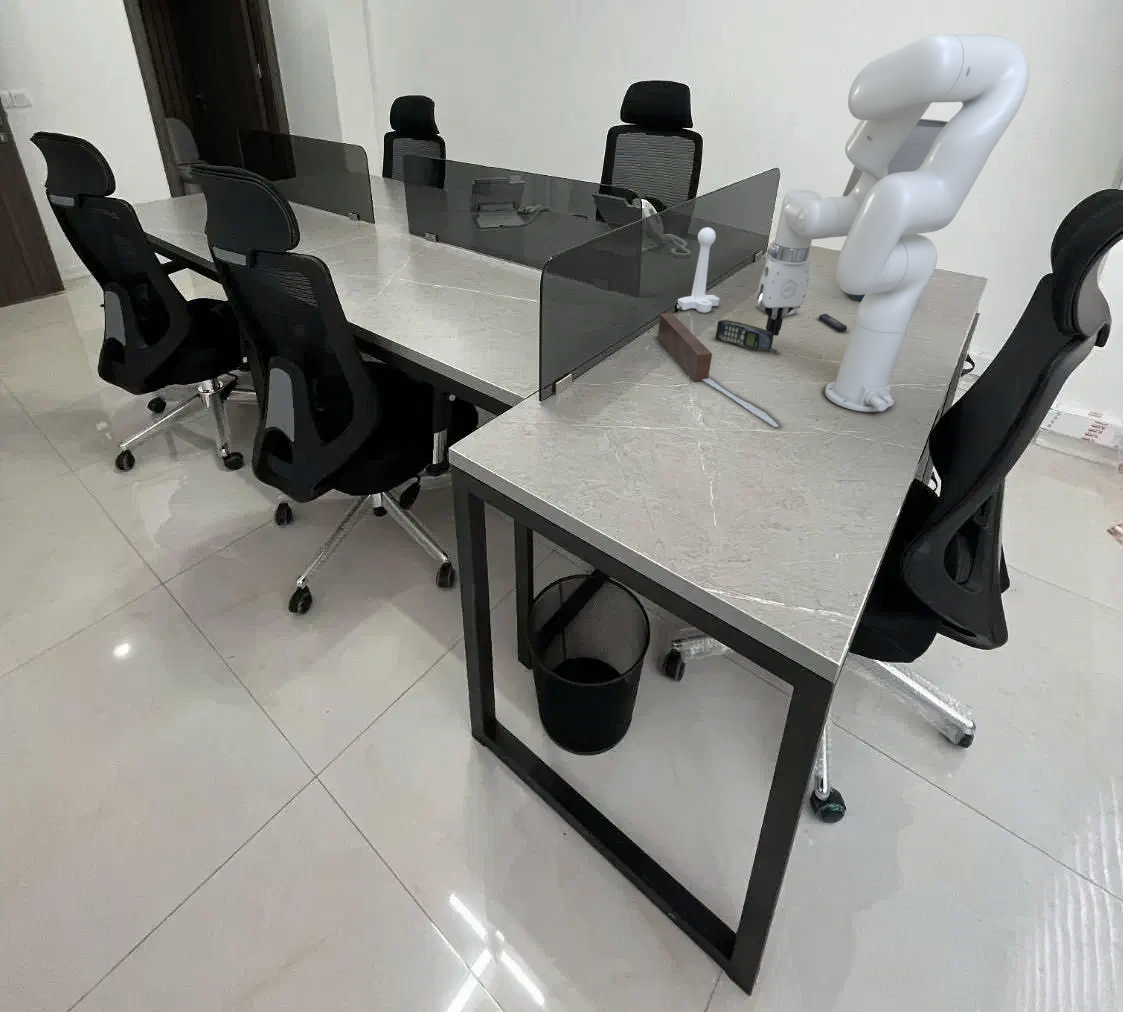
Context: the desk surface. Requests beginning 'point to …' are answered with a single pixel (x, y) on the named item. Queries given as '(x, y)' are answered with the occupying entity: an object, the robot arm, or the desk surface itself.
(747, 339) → the mobile phone
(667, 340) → the wooden block
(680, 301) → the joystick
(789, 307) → the robot arm
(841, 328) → the usb stick
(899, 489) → the desk surface
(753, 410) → the butter knife
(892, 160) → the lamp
